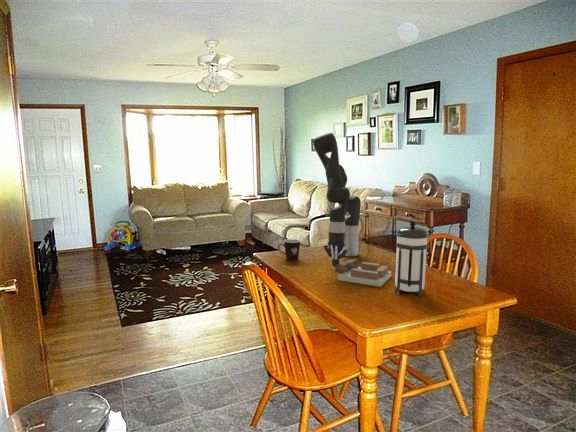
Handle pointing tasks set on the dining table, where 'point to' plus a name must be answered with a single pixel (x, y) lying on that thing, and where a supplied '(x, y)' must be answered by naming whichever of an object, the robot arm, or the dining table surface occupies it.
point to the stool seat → (367, 274)
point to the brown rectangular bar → (346, 266)
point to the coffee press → (411, 259)
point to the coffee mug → (291, 249)
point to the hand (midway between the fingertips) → (335, 266)
